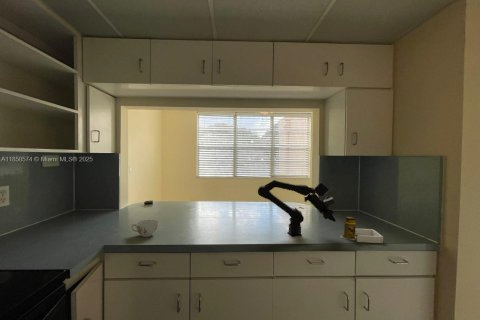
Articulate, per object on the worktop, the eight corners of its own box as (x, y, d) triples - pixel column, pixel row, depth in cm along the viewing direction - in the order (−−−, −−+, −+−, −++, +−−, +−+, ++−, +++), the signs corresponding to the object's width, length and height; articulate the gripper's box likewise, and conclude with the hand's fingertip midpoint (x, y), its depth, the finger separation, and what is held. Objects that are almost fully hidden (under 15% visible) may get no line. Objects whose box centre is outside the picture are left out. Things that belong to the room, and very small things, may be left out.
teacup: (160, 232, 156) (160, 219, 155) (155, 239, 143) (155, 225, 143) (135, 232, 155) (135, 219, 154) (127, 239, 142) (127, 225, 142)
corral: (357, 241, 144) (357, 235, 144) (349, 233, 158) (350, 228, 158) (382, 243, 142) (383, 236, 142) (373, 235, 156) (373, 229, 156)
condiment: (354, 240, 146) (355, 219, 145) (339, 237, 150) (339, 217, 150) (356, 237, 152) (357, 217, 151) (341, 234, 156) (342, 214, 156)
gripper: (330, 195, 143) (350, 215, 142) (323, 190, 161) (341, 208, 160) (315, 208, 144) (335, 229, 143) (310, 202, 162) (328, 220, 161)
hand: (335, 221), depth 152 cm, fingers closed
